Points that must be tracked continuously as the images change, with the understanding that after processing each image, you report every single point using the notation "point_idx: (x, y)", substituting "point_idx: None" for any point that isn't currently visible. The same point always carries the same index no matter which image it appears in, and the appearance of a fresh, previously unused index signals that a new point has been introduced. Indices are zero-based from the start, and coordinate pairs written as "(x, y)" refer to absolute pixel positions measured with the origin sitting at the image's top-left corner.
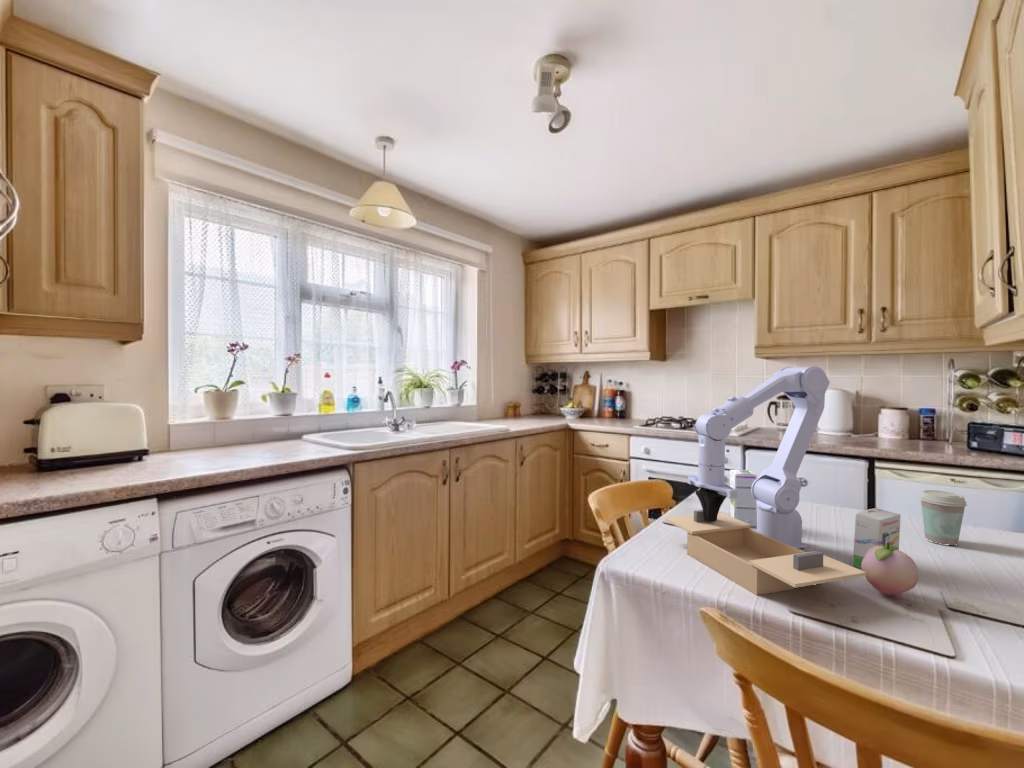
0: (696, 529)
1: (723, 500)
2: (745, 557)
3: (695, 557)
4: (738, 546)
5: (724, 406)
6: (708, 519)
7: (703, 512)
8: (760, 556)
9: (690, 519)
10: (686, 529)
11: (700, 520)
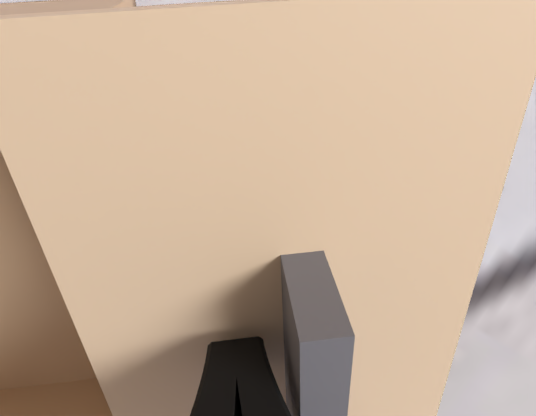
0: (43, 132)
1: None
2: (22, 305)
3: (23, 3)
4: None
5: None
6: (206, 359)
7: (277, 395)
8: (39, 367)
9: (376, 246)
10: (77, 12)
11: (282, 301)
